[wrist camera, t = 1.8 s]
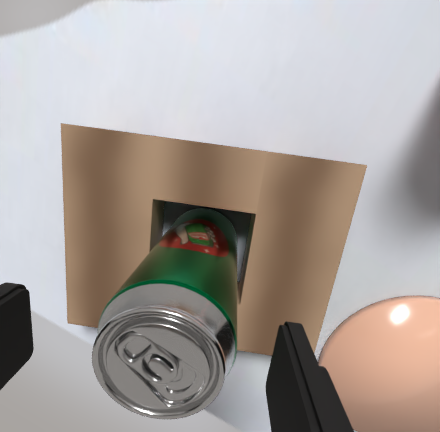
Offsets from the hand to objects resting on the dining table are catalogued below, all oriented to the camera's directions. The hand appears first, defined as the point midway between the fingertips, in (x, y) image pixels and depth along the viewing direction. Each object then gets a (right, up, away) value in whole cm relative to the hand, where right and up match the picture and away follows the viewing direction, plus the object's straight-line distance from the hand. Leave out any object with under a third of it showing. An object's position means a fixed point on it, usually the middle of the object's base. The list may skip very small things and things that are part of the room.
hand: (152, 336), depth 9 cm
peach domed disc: (+18, -8, +12) cm, 23 cm away
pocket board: (+1, +3, +10) cm, 11 cm away
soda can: (+1, +3, +10) cm, 11 cm away
